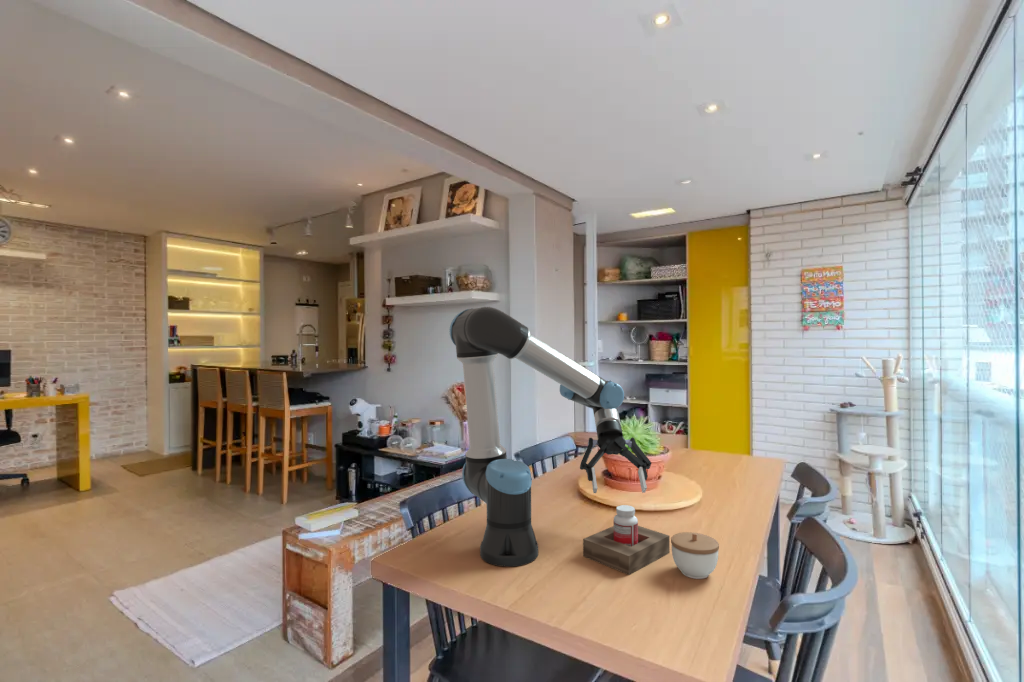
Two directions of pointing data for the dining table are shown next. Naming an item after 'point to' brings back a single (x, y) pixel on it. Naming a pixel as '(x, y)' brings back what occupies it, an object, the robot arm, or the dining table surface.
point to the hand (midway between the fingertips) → (620, 490)
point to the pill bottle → (626, 525)
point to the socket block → (626, 549)
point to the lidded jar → (695, 554)
